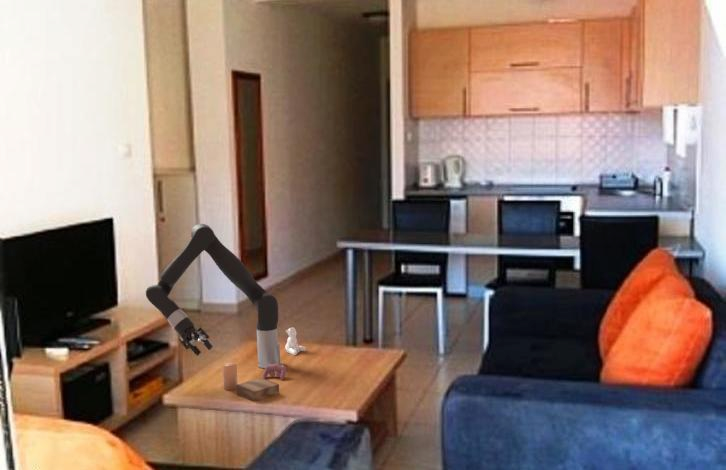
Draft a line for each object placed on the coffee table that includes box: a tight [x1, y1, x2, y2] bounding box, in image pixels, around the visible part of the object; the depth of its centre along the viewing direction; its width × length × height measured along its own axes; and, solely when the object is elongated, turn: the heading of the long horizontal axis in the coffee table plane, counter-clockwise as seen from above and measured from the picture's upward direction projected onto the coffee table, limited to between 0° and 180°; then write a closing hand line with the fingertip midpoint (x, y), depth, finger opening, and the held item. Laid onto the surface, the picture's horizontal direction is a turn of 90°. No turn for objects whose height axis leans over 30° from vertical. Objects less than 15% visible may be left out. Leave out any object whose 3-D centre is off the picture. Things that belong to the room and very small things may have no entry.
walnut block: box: [236, 377, 280, 402], centre depth 302 cm, size 12×12×4 cm
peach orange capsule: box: [222, 361, 238, 391], centre depth 310 cm, size 6×6×10 cm
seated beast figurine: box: [284, 327, 306, 356], centre depth 359 cm, size 10×9×12 cm
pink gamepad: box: [262, 363, 288, 381], centre depth 323 cm, size 10×5×7 cm, turn 71°
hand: (205, 351), depth 313 cm, fingers open, 8 cm apart
